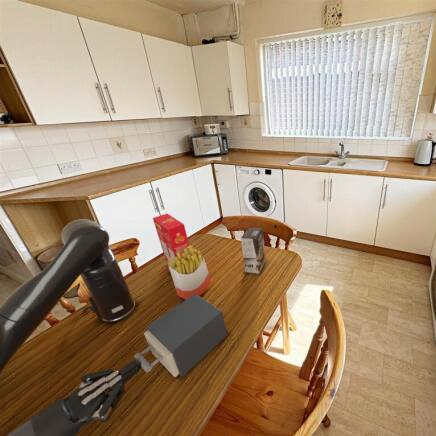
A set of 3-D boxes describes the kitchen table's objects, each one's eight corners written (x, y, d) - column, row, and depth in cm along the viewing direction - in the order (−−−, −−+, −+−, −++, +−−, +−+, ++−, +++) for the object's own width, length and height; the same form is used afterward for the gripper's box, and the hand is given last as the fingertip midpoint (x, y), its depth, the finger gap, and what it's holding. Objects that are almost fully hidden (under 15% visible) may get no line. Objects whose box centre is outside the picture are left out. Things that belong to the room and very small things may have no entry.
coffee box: (259, 274, 96) (255, 239, 89) (244, 272, 97) (239, 237, 90) (266, 260, 104) (263, 228, 97) (252, 259, 105) (248, 227, 98)
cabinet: (181, 377, 59) (172, 351, 55) (156, 350, 66) (146, 326, 62) (227, 335, 70) (222, 311, 66) (201, 316, 77) (195, 293, 73)
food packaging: (198, 281, 92) (184, 224, 82) (185, 288, 89) (168, 229, 78) (182, 266, 102) (167, 213, 91) (169, 272, 98) (152, 217, 88)
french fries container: (212, 286, 90) (203, 246, 82) (187, 305, 81) (174, 262, 74) (204, 282, 92) (194, 242, 84) (179, 300, 83) (166, 258, 76)
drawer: (158, 393, 55) (148, 371, 52) (135, 365, 62) (125, 345, 58) (219, 337, 68) (214, 318, 65) (195, 319, 74) (190, 301, 71)
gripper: (40, 423, 49) (132, 358, 61) (56, 477, 41) (157, 391, 54) (22, 401, 46) (123, 338, 58) (36, 455, 38) (147, 369, 51)
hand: (139, 363), depth 56 cm, fingers closed
